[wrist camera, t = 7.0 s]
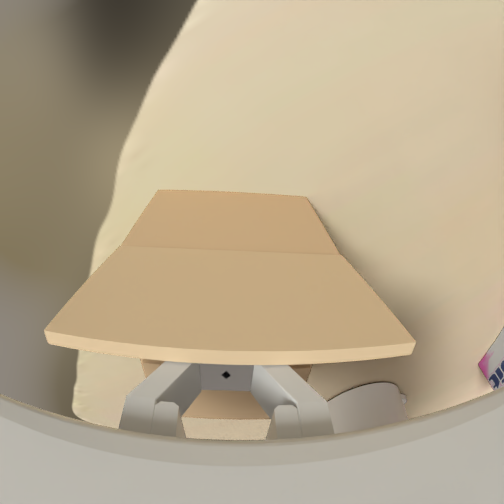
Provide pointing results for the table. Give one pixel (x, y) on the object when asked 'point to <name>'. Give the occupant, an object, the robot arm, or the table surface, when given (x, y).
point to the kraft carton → (229, 238)
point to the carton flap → (229, 309)
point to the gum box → (494, 363)
